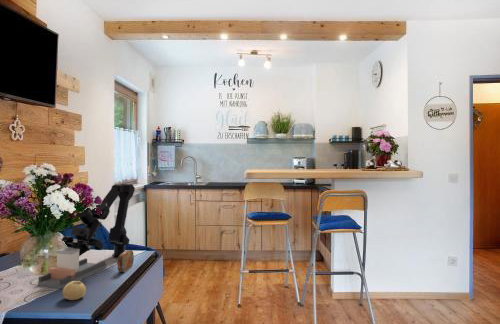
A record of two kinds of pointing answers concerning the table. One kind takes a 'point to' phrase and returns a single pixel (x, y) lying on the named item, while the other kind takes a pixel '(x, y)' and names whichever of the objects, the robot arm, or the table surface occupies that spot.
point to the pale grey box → (68, 258)
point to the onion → (74, 290)
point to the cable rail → (57, 281)
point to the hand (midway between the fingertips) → (72, 259)
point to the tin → (125, 261)
